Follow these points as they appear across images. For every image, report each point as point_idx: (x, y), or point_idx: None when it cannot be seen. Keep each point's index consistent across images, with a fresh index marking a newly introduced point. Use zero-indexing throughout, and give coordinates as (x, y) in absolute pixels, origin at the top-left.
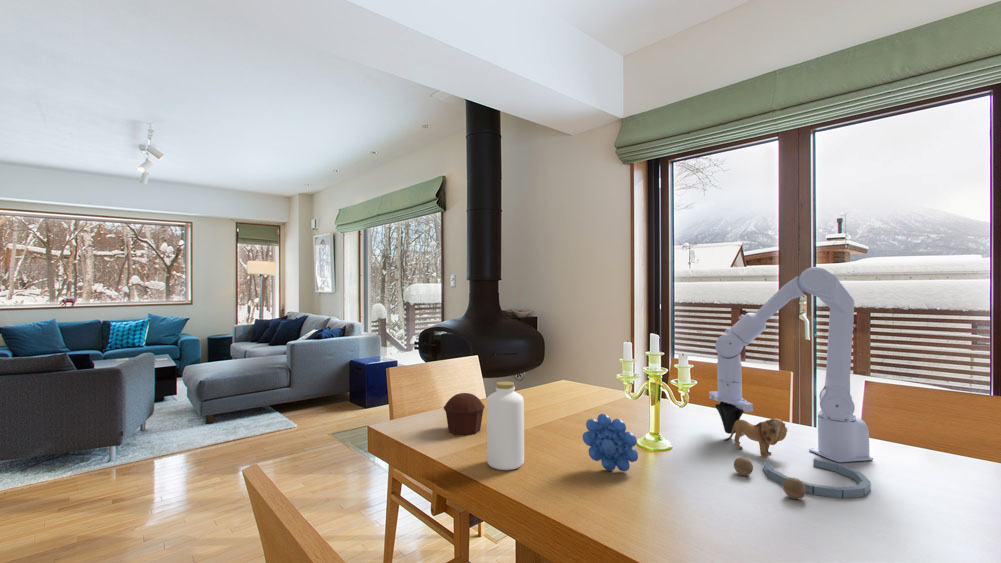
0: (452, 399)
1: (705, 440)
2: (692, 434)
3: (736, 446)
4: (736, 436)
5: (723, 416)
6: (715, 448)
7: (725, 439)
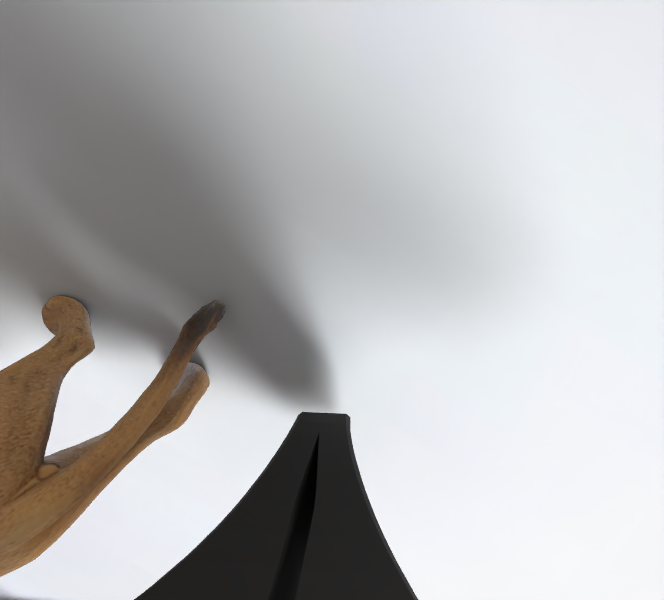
0: None
1: (304, 155)
2: (530, 132)
3: (75, 307)
4: (31, 363)
5: (310, 542)
6: (55, 103)
7: (200, 311)
